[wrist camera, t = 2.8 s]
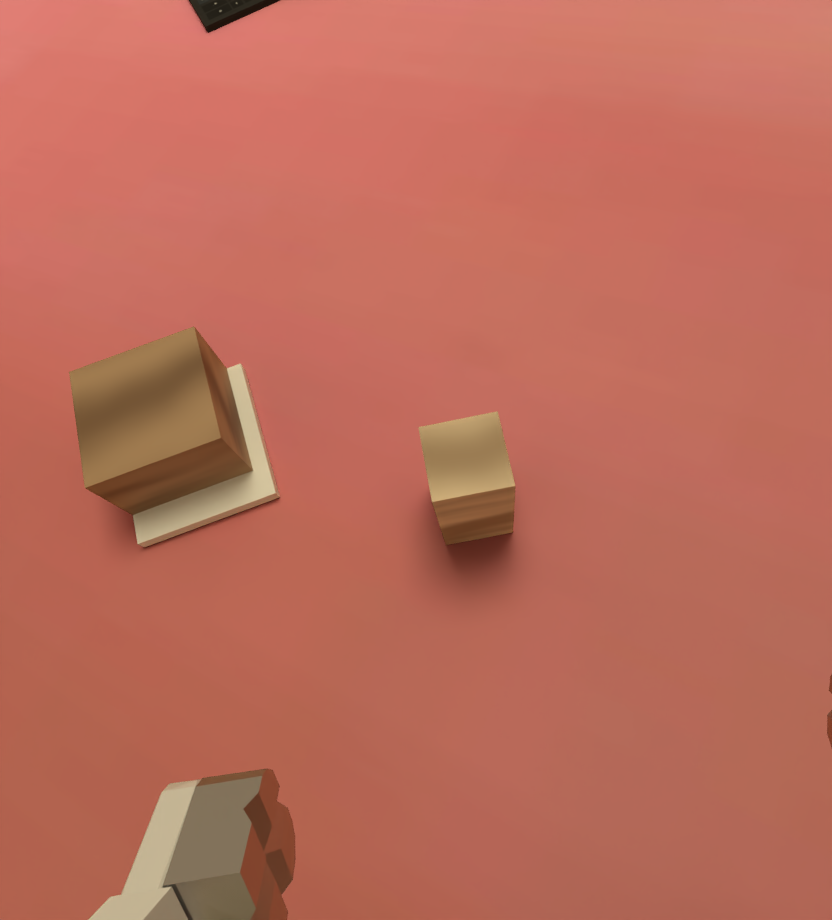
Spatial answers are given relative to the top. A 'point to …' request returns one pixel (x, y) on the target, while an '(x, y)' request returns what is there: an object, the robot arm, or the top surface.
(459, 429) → the oak block
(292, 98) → the top surface
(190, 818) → the robot arm
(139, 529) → the baseplate
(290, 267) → the top surface
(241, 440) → the walnut brick
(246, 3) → the calculator
